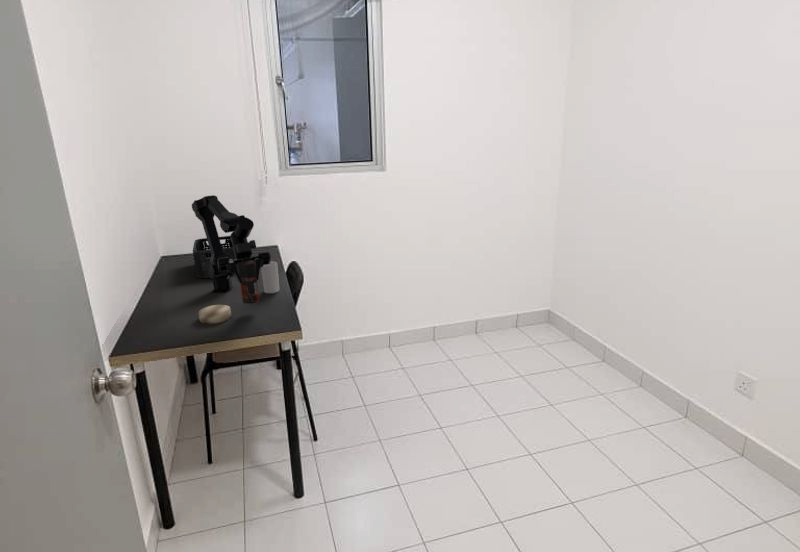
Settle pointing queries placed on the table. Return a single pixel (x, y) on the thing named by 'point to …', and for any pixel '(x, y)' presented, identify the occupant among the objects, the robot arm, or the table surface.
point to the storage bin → (209, 255)
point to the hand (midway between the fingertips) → (249, 280)
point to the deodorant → (248, 281)
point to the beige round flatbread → (214, 314)
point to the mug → (270, 277)
